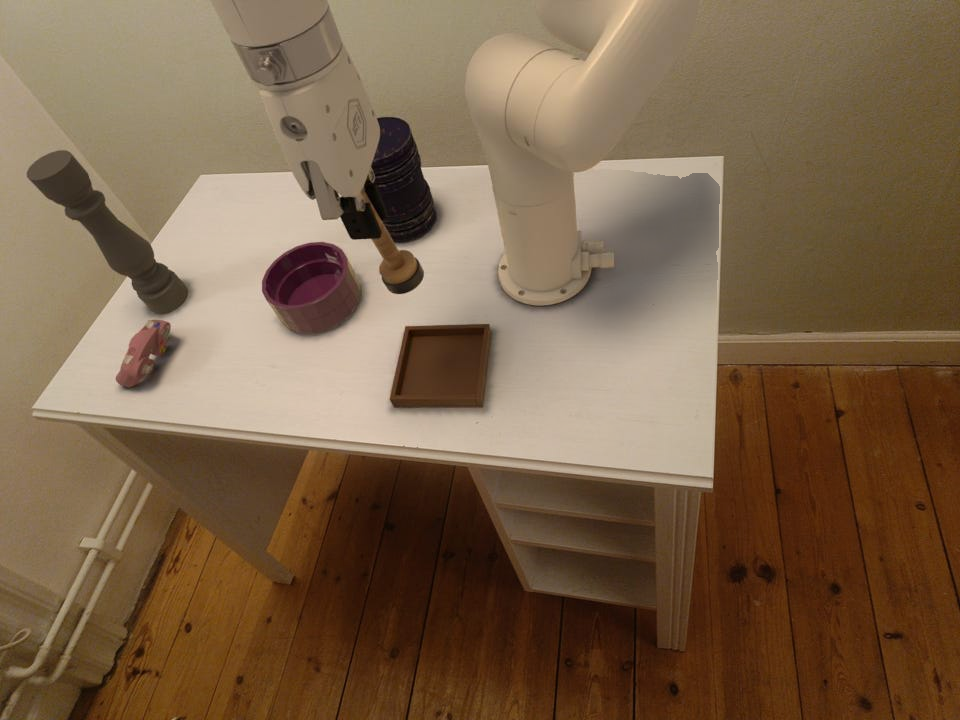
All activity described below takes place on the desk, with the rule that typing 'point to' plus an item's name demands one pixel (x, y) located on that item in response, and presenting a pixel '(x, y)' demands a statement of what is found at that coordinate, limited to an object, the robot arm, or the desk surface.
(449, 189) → the desk surface
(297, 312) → the bowl
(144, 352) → the pink toy
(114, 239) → the candle holder
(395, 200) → the storage jar
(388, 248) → the brush
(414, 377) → the tray
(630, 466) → the desk surface
